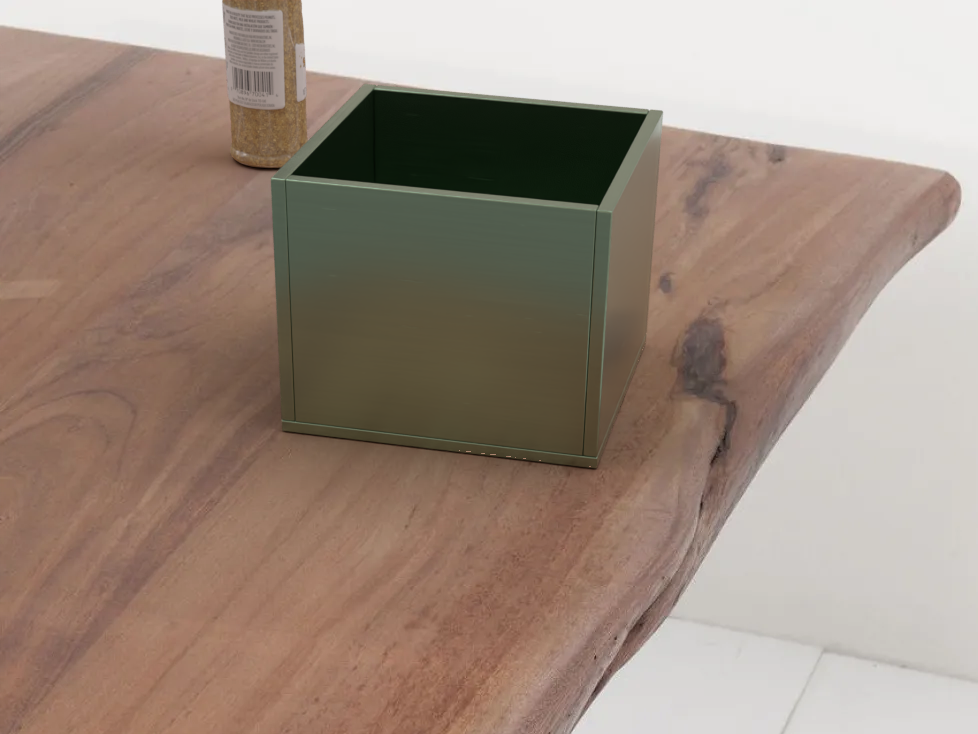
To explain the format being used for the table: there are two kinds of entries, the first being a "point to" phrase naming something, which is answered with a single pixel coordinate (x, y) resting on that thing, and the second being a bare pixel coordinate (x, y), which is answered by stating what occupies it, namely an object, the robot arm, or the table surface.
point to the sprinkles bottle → (265, 80)
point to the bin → (465, 271)
